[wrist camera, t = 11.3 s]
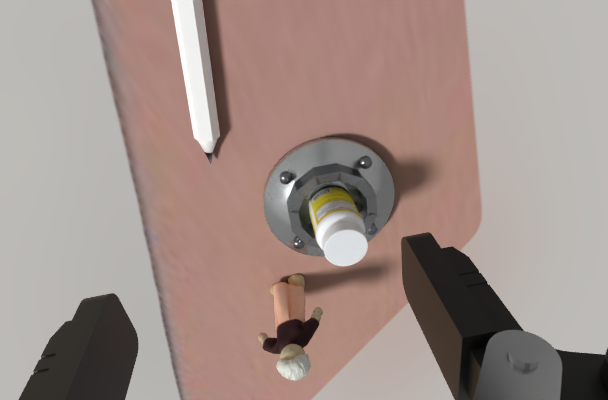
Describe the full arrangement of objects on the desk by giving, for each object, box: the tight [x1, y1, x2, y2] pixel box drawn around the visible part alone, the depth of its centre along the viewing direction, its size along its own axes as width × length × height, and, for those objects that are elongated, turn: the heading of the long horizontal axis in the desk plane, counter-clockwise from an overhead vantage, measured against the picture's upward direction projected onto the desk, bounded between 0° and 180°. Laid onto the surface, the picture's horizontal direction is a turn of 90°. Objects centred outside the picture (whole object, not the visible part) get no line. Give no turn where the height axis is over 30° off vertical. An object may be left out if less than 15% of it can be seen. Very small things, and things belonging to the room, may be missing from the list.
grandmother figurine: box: [258, 274, 323, 381], centre depth 45 cm, size 8×4×13 cm, turn 127°
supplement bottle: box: [308, 184, 368, 266], centre depth 40 cm, size 5×5×8 cm
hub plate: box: [264, 137, 395, 257], centre depth 43 cm, size 14×14×3 cm
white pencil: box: [171, 0, 220, 163], centre depth 37 cm, size 3×2×16 cm
